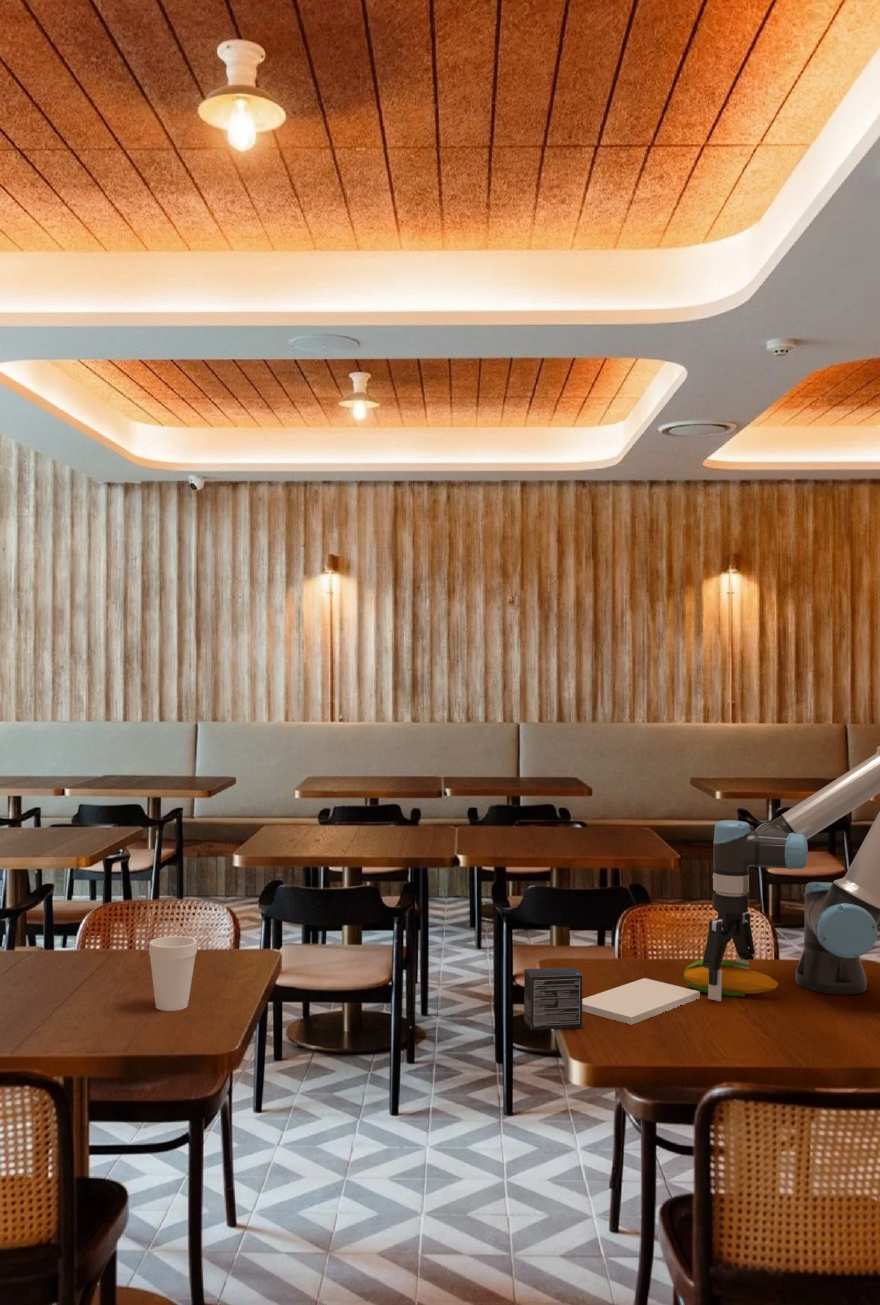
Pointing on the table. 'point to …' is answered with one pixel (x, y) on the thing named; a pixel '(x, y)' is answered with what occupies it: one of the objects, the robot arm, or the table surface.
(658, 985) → the platter
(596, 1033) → the table surface
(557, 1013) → the small box
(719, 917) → the robot arm
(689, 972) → the mango
